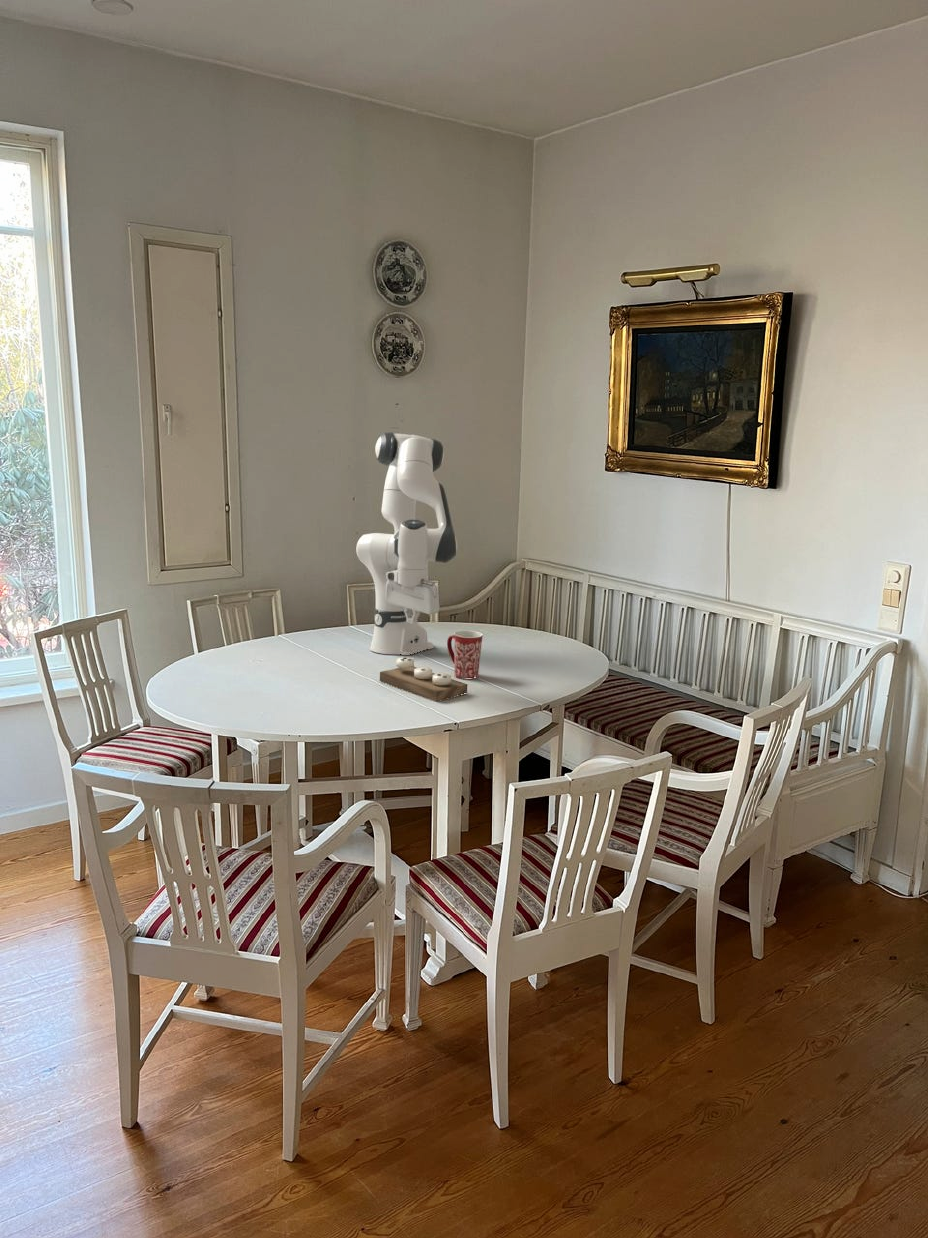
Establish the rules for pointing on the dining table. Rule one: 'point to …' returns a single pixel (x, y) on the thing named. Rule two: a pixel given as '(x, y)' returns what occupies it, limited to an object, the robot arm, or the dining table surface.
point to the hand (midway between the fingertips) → (411, 623)
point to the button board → (421, 684)
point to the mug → (465, 653)
